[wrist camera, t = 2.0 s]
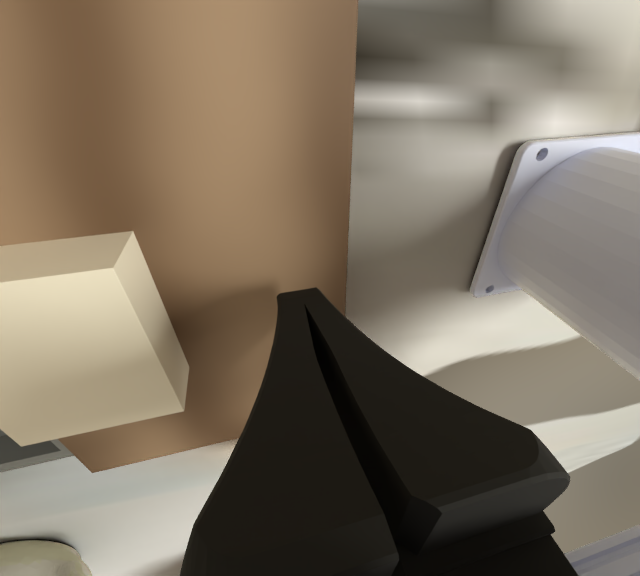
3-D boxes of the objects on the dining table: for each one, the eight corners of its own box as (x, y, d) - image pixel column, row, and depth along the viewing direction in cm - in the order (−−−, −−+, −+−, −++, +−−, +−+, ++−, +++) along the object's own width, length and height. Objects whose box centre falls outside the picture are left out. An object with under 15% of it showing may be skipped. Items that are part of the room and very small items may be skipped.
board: (329, -40, 8) (360, -70, 6) (329, 377, 19) (340, 413, 17) (-279, -62, 6) (-512, -118, 4) (107, 425, 17) (92, 472, 15)
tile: (133, 230, 9) (113, 267, 7) (189, 367, 12) (184, 411, 11) (-77, 254, 8) (-151, 302, 6) (48, 393, 12) (21, 446, 10)
